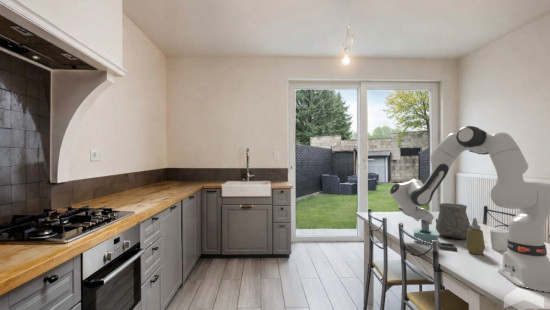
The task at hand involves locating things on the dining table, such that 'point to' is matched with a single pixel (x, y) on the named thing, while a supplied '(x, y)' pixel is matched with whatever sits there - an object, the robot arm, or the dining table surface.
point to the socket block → (426, 235)
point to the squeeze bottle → (475, 239)
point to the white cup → (499, 239)
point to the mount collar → (453, 247)
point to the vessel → (452, 221)
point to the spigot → (424, 226)
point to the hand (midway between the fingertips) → (424, 221)
